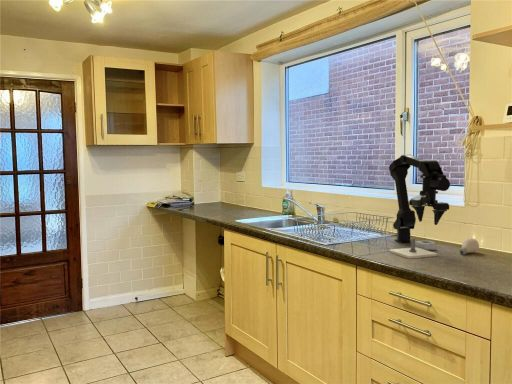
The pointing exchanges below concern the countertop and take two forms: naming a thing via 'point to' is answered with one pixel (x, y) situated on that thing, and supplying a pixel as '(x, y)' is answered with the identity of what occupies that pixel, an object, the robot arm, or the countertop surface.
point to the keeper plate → (413, 252)
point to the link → (425, 245)
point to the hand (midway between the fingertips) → (427, 223)
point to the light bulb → (469, 246)
